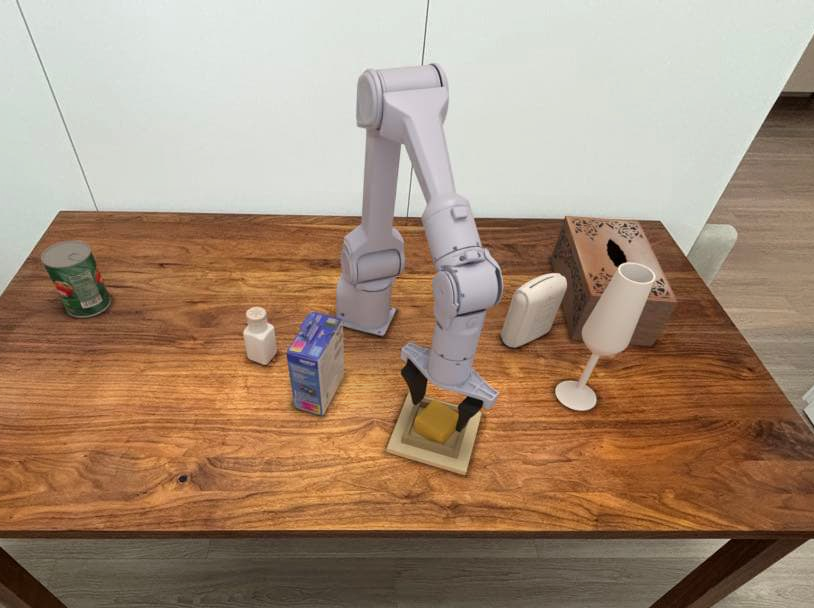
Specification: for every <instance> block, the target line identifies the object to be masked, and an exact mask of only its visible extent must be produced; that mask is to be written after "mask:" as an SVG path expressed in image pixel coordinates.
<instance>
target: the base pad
mask: <svg viewBox="0 0 814 608" xmlns="http://www.w3.org/2000/svg"><path fill="white" fill-rule="evenodd" d="M434 399H435V400H437V401H438V402H440V403H442V404H443V405H445V406H447V407H448V408H450V409H452V410H453V411H455V412H457V413H458V405H459V404H458V405H457V404H454V403H450V402H446V401H443V400H440V399H436V398H432V397H428V396H426V395H425V396H424V399H423V400H422V401H420V402H419V403H418V404H417V405H416V406H415V405H414V404H413V403H412V398H411V394H410V391H409V392H408V393H407V395H406V398H405V401H404V402H403V405H402V408H401V411H400V413H399V415H398V418H397V421H396V423H395V425H394V428H393V431H392V432H391V436H390V439H389V441H388V443H387V446H386V449H385V451H386V453H388V454H391V455H394V456H398V457H401V458H405V459H408V460H412V461H415V462H418V463H421V464H425V465H428V466H432V467H435V468H438V469H441V470H444V471H449V472H451V473H455V474H459V475H462V476H466V475H467V471H468V469H469V468H468V467H469V463H470V461H471V455H472V453H473V448H474V444H475V439H476V437H477V433H478V429H479V425H480V422H481V419H482V418H481V417H482V414H483V412H482V411H481V410H479V411H478V413H477V414H475V415H474V416H473V417H472V418H470V420H469V421H468V423H467V425H466V426H465V427H464V429H463V430H462V431H461V432H457V431H455V432H454V433H453V434H452V435H451V437H450V438H449V439H448V440H447V441H446V442H445V443H444V444H440V443H437V442H433V441H430V440H427V439H426V438H424V437H423V436H421V435H420V434H418V433H416V432H415V431H413V428H414V422H415V418H416V417H417V416H418V415H419V414H420V413H421V412H422V411H423V410H424V409H425V408H426V407H427V406H428V405H429V404H430V403H431V402H432V401H433V400H434ZM458 414H459V413H458Z"/></svg>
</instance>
